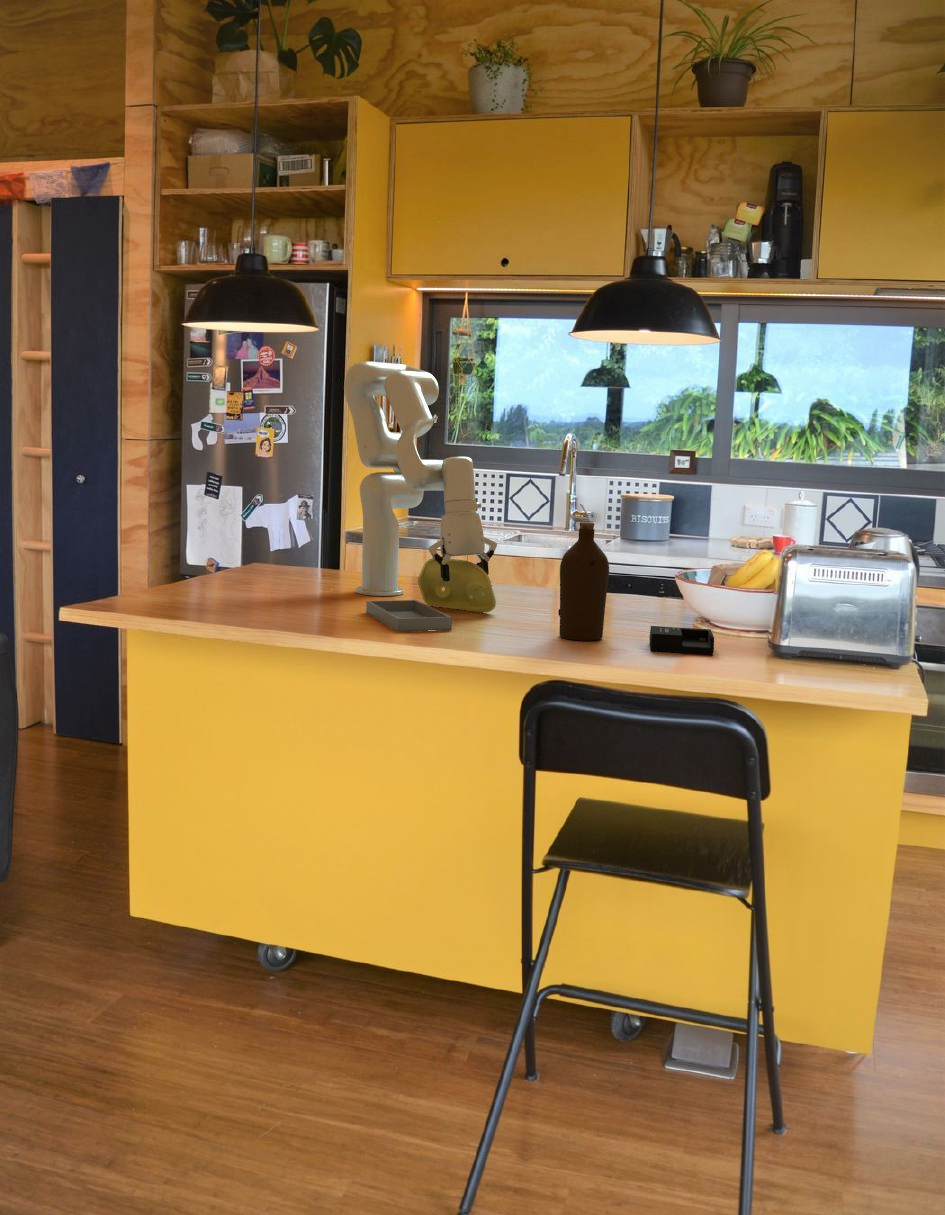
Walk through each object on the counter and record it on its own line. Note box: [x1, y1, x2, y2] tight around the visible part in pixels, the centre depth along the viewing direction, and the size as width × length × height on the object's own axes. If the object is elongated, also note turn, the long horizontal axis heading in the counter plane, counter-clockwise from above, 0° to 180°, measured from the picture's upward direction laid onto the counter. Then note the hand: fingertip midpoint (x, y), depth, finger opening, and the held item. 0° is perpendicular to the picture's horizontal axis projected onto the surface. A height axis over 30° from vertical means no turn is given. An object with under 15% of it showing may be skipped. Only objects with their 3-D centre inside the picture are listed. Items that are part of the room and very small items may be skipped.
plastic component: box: [417, 557, 497, 613], centre depth 277 cm, size 20×7×10 cm
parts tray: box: [365, 599, 453, 633], centre depth 258 cm, size 24×12×3 cm, turn 21°
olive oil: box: [557, 521, 610, 642], centre depth 246 cm, size 11×11×25 cm
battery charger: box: [649, 625, 715, 657], centre depth 239 cm, size 13×10×4 cm
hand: (465, 579), depth 273 cm, fingers open, 9 cm apart
